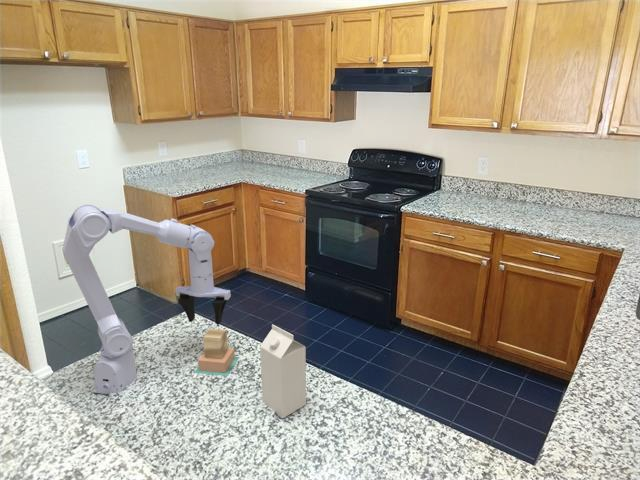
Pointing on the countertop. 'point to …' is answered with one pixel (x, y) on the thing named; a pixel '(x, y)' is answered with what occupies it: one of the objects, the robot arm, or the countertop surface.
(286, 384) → the milk carton
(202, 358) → the base block
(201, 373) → the board
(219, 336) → the maple block
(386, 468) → the countertop surface
